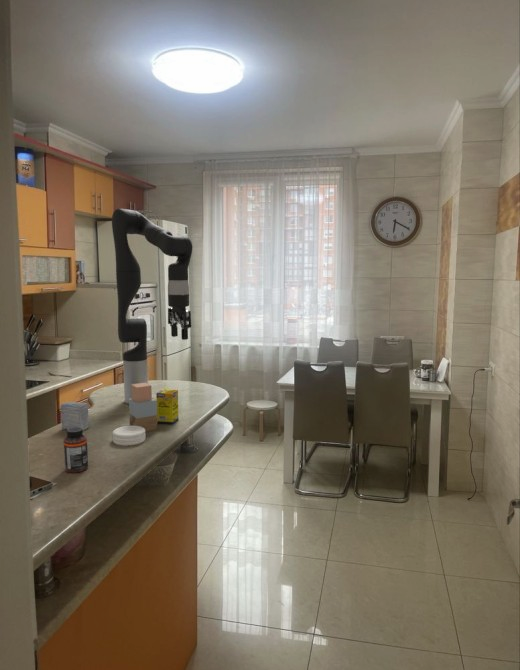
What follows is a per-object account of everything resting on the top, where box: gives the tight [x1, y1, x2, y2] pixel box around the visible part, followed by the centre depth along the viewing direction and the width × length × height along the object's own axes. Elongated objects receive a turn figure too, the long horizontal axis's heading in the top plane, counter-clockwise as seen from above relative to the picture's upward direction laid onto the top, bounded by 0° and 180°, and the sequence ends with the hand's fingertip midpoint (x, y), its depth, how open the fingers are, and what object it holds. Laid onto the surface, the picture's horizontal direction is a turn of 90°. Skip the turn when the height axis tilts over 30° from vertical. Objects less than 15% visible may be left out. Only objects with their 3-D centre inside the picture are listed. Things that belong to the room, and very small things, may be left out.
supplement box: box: [155, 388, 179, 425], centre depth 184 cm, size 6×6×11 cm
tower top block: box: [128, 397, 157, 418], centre depth 177 cm, size 7×7×5 cm
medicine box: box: [60, 401, 90, 432], centre depth 177 cm, size 8×4×9 cm, turn 71°
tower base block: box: [128, 413, 158, 432], centre depth 178 cm, size 7×7×5 cm
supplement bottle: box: [63, 427, 89, 474], centre depth 143 cm, size 6×6×11 cm
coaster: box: [112, 425, 147, 447], centre depth 166 cm, size 10×10×4 cm
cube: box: [131, 383, 153, 402], centre depth 176 cm, size 5×5×5 cm
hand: (179, 338), depth 190 cm, fingers open, 8 cm apart
